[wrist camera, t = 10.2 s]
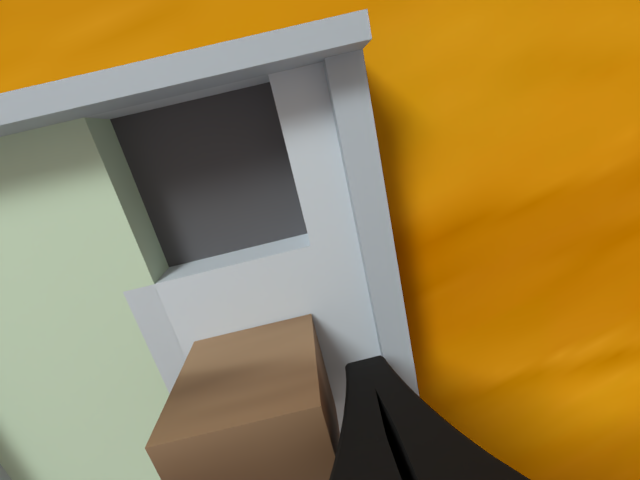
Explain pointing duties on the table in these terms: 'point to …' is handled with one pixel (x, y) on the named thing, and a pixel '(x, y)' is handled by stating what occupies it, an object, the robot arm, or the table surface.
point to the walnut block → (250, 409)
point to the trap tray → (184, 235)
